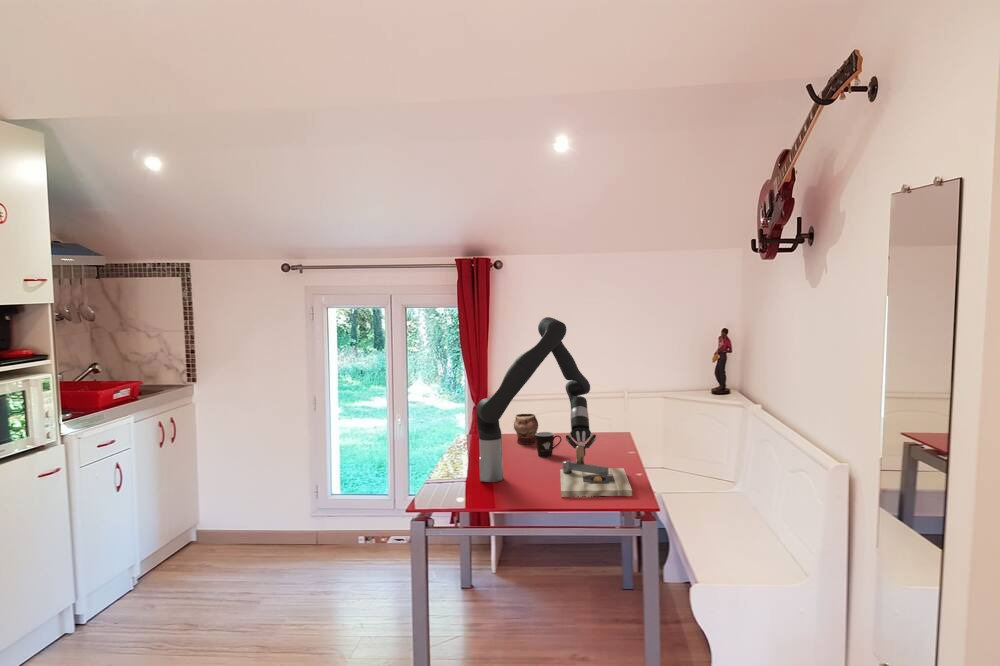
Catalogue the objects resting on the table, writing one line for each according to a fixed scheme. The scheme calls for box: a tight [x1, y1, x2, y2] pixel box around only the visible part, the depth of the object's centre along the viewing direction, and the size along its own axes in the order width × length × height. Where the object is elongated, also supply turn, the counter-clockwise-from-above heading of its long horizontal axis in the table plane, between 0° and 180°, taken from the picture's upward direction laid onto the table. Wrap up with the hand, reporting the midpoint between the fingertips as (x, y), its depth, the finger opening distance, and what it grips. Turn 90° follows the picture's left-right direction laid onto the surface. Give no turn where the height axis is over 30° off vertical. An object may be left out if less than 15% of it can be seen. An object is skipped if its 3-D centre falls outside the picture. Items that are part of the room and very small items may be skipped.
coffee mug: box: [535, 431, 562, 458], centre depth 305 cm, size 12×9×10 cm
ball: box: [593, 476, 602, 481], centre depth 259 cm, size 4×4×4 cm
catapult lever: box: [562, 445, 609, 475], centre depth 264 cm, size 20×4×11 cm, turn 55°
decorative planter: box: [513, 413, 539, 445], centre depth 333 cm, size 20×12×14 cm, turn 173°
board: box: [559, 467, 633, 498], centre depth 259 cm, size 26×28×2 cm
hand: (582, 456), depth 267 cm, fingers closed
